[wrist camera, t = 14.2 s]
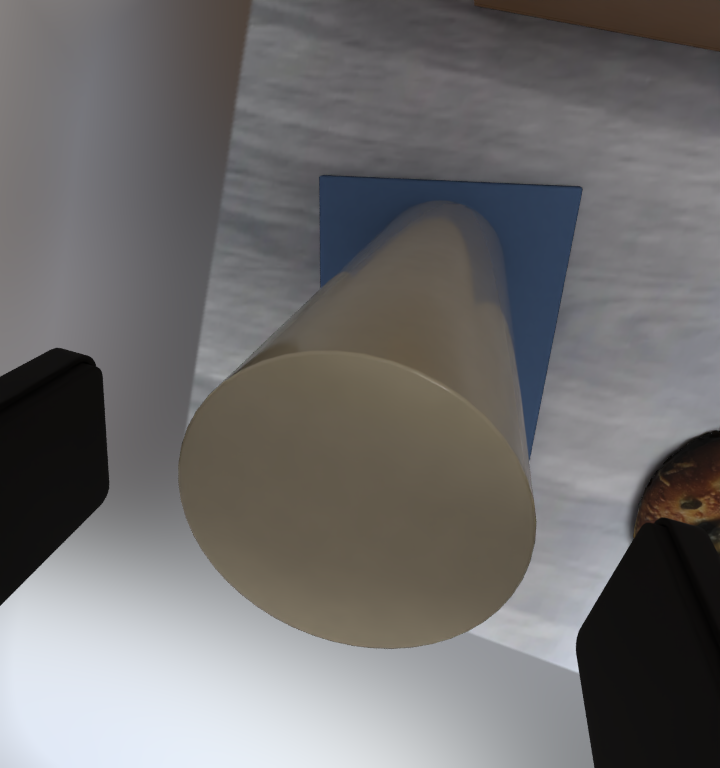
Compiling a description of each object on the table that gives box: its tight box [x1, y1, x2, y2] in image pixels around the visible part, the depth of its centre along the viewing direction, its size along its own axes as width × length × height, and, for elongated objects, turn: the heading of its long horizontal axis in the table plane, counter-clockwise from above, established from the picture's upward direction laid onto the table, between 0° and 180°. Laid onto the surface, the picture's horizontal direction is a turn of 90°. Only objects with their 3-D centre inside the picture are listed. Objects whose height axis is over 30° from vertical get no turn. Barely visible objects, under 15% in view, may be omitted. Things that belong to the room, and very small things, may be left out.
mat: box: [319, 175, 583, 460], centre depth 29 cm, size 20×12×1 cm, turn 179°
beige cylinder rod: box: [178, 200, 536, 649], centre depth 18 cm, size 6×6×19 cm
